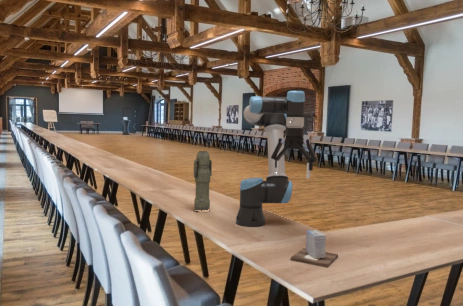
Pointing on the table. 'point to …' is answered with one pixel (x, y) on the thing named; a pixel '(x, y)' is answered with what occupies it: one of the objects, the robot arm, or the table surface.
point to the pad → (306, 258)
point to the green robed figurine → (202, 180)
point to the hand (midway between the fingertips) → (293, 176)
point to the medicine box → (315, 244)
